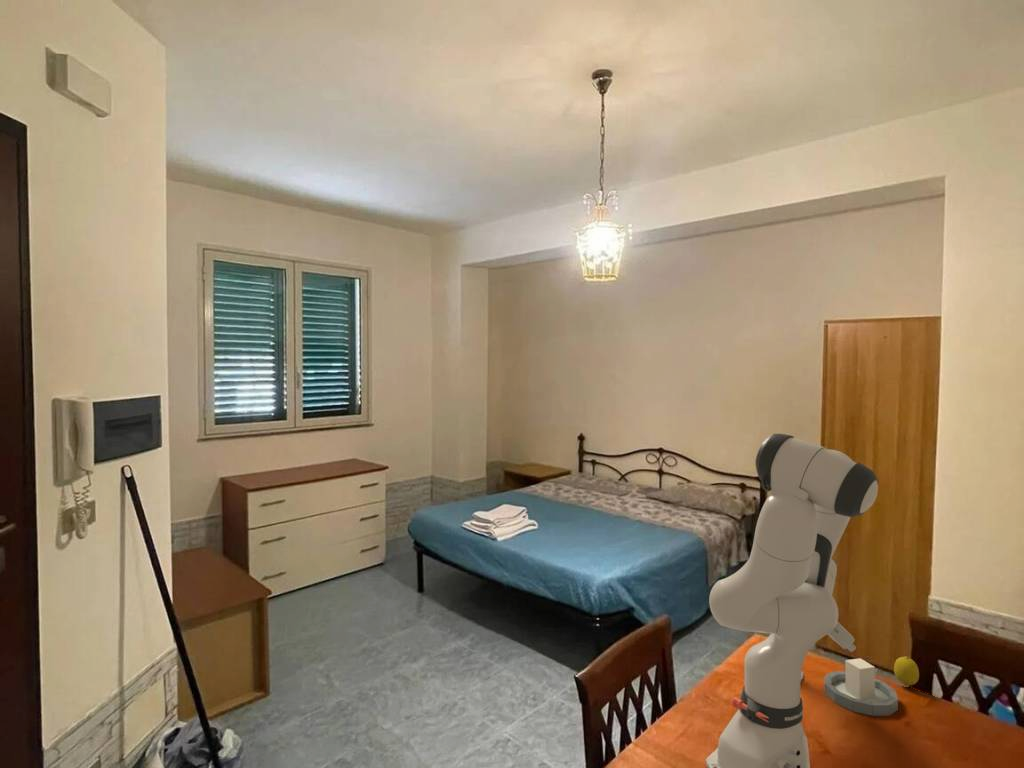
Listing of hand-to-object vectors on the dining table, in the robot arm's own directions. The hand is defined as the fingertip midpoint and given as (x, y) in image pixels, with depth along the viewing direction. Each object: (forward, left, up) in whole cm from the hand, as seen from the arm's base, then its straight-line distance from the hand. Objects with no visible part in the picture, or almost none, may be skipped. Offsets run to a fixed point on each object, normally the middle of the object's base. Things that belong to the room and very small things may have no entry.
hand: (841, 639), depth 143 cm
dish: (+7, -1, -16) cm, 18 cm away
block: (+7, -1, -16) cm, 17 cm away
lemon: (+23, -5, -17) cm, 29 cm away
